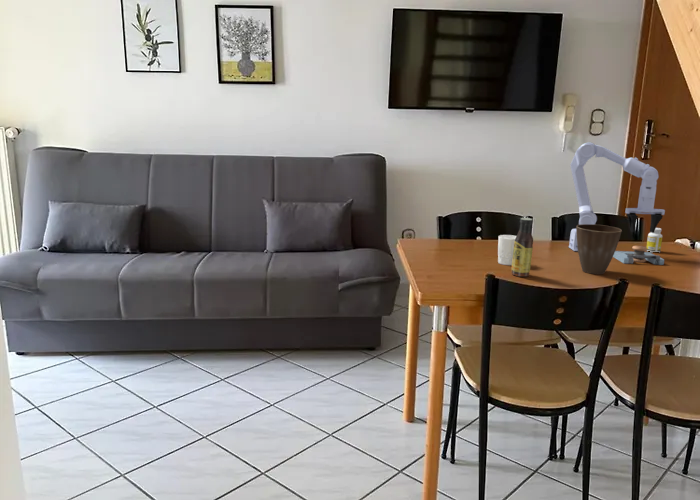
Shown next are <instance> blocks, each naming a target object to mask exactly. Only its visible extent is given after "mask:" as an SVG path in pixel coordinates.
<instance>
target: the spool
mask: <svg viewBox="0 0 700 500" xmlns="http://www.w3.org/2000/svg"><path fill="white" fill-rule="evenodd" d="M632 250H633V252H634V255H644V252H648V251H647V246H643V245H633V246H632ZM633 259H634V260H633V263H640V264H641V263H643V264H644V263H646V262H647V260H646V259H645V258H633Z"/></svg>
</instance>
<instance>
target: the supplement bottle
mask: <svg viewBox="0 0 700 500" xmlns="http://www.w3.org/2000/svg"><path fill="white" fill-rule="evenodd" d="M661 232H662V228H660V227H656V228H655V231H654V233H652V232H649V233H648V234H647V240H646V247H647V251H646V252H648V251H650V253H653V252H659V253H661V250H662V243H663V242H662V241H663V234H661Z"/></svg>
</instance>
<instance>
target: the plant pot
mask: <svg viewBox="0 0 700 500" xmlns="http://www.w3.org/2000/svg"><path fill="white" fill-rule="evenodd" d="M575 229H576V234H577V247H578V251H577V254H578V257H579V258H578V259H579V263H580V267H581V270H582V272H585V273H587V274H591V275H603V274H605V273H606V271H607V269H608V267H609V266H610V263H611V261H612V259H613V258H614V257H613V255H614V253H615V251H617V248H618V244H619V242H620V241H619V240H620V239H621V234H622V232H623V231H622V229H621V228H619V227H615V226H609V225H603V224H595V225H594V224H581V225H579V224H577V225H576V227H575Z"/></svg>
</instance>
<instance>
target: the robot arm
mask: <svg viewBox="0 0 700 500" xmlns="http://www.w3.org/2000/svg"><path fill="white" fill-rule="evenodd" d="M594 156H595V158H605V159H607V160H609V161H611V162H613V163H615V164H618V165H619V166H622V170H623V171H624V172H627V173H628V174H630V175H632V176H635V177H636V178H638V179H639V178H641V179H642V180H641V185H640V188H639V195H638V203H637V207H626V208H625V212H624V213H625V214H626V216H627V219H628V222H629V227H630V228H629V229H630V232H631V233H635V231H636V224H637V219H638V217H639V216H638V215H650V226H649V233H651V232H652V233H654V231H655V228H657V226H658V224H659V223H660V222H661V220H662V219H663V216H665V212H666V210H665V209H660V208H655V207H654V206H655V199H656V193H657V185H658V179H659V177H660V176H659V172H658V170H657V169H656V168H655V167H654V166H650V164H648V163H647V164H646V163H644V162H642V161H640V160H639V158H637V157H636V156H635V157H634V158H633V156H632V157H628V158H626V157H624V156H622V155H620V154H619V153H617V152H614V151H613V150H611V149H610V148H607V147H605V146H603V145H599V144H595V143H593V142H591V141H588V142H585V143H582V144H581V145H580V146H579V147H578V148H576V151H575V154H574V156H573V157H572V160H571V162H570V170H571V176H572V181H573V185H574V189H575V195H576V199H577V204H578V212H579V220H578V225H581V224H594V225H596V223H597V221H598V216H597V215H596V213H595V212H594V210H593V206H592V203H591V198H590V195H589V189H588V184H587V180H586V175H585V170H584V166H585V165H586V164H587V162H589V160H590V159H592V158H593V157H594ZM568 244H569V245H568V248H569V249H571V250H572V251H573V252H578V247H577V234H576V228H572V229H571V231H570V236H569V243H568Z"/></svg>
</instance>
